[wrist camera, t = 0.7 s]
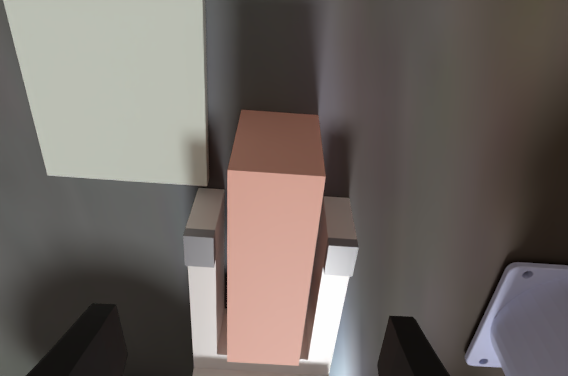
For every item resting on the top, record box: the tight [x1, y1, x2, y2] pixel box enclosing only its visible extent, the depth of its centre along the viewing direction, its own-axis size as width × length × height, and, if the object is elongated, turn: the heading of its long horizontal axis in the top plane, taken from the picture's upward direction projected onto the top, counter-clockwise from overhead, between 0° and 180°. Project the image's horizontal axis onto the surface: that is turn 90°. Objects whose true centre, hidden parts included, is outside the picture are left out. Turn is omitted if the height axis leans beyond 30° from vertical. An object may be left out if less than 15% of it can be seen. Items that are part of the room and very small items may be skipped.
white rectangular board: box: [3, 0, 209, 186], centre depth 17 cm, size 7×13×1 cm, turn 176°
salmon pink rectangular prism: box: [227, 110, 326, 366], centre depth 19 cm, size 3×10×5 cm, turn 176°
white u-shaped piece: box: [183, 188, 359, 376], centre depth 23 cm, size 7×13×4 cm, turn 176°
